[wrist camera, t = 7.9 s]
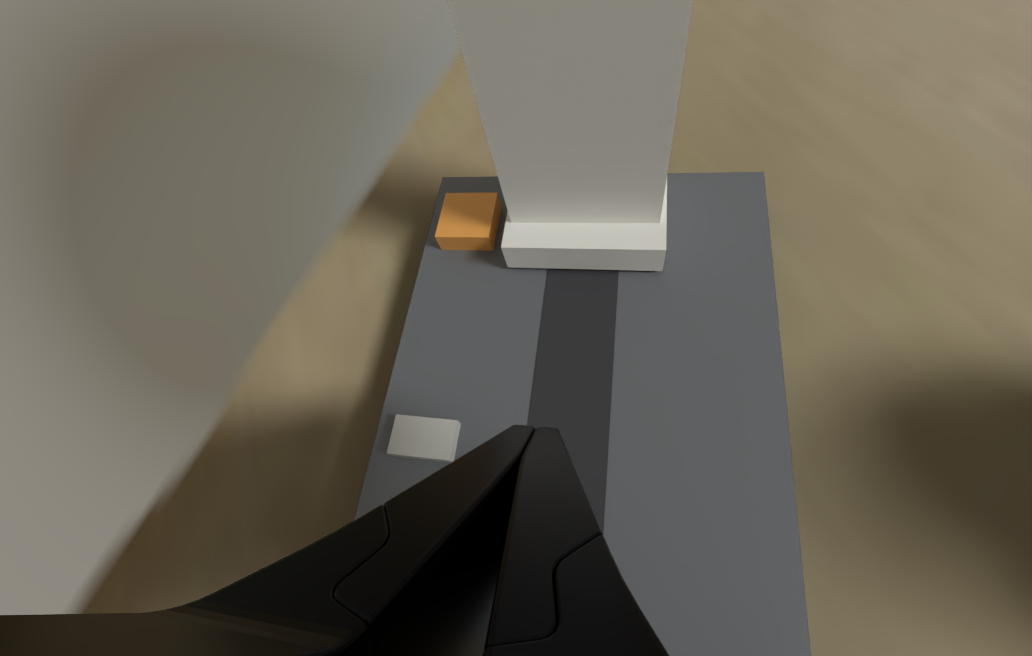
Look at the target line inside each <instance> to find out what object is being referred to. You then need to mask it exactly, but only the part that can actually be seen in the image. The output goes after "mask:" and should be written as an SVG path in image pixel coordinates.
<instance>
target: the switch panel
mask: <svg viewBox="0 0 1032 656" xmlns="http://www.w3.org/2000/svg"><path fill="white" fill-rule="evenodd" d="M507 211H508V210H507V207H506V203H505V200H504V196H503V193H502V189H501V186H500V183H499V179H498V177H445V178H442V182H441V186H440V190H439V194H438V197H437V201H436V205H435V209H434V213H433V217H432V221H431V224H430V228H429V232H428V236H427V240H426V244H425V248H424V251H423V255H422V259H421V263H420V267H419V271H418V275H417V278H416V282H415V286H414V290H413V294H412V298H411V302H410V305H409V309H408V313H407V317H406V321H405V325H404V329H403V332H402V336H401V340H400V344H399V348H398V352H397V356H396V359H395V363H394V367H393V371H392V375H391V379H390V383H389V386H388V390H387V394H386V398H385V402H384V406H383V410H382V413H381V417H380V421H379V425H378V429H377V433H376V437H375V440H374V444H373V448H372V452H371V456H370V460H369V464H368V467H367V471H366V475H365V479H364V483H363V487H362V491H361V494H360V498H359V502H358V506H357V510H356V514H355V518H354V520H356V519H358V518H359V517H361V516H363V515H365V514H366V513H368V512H370V511H371V510H373V509H375V508H376V507H378V506H380V505H383V506H384V503H385V502H386V501H388V500H390V499H391V498H393V497H395V496H396V495H398V494H400V493H401V492H403V491H405V490H406V489H408V488H410V487H411V486H413V485H415V484H416V483H418V482H420V481H421V480H423V479H425V478H426V477H428V476H430V475H431V474H433V473H435V472H436V471H438V470H439V469H441V468H443V467H444V466H446V465H448V464H449V463H451V462H453V461H454V460H456V459H458V458H459V457H461V456H463V455H464V454H466V453H468V452H469V451H471V450H473V449H474V448H476V447H478V446H479V445H481V444H483V443H484V442H486V441H488V440H489V439H491V438H493V437H494V436H496V435H497V434H499V433H501V432H502V431H504V430H506V429H507V428H509V427H511V426H513V425H516V424H517V425H527V426H533V427H535V429H536V428H537V427H548V428H557V429H558V430H559V431H560V434H561V436H562V438H563V441H564V443H565V445H566V448H567V450H568V453H569V455H570V457H571V460H572V462H573V464H574V467H575V469H576V472H577V474H578V476H579V479H580V481H581V483H582V486H583V488H584V491H585V493H586V495H587V498H588V500H589V502H590V505H591V507H592V509H593V512H594V514H595V517H596V519H597V521H598V524H599V526H600V528H601V531H602V533H603V537H604V538H605V540H606V542H607V544H608V547H609V549H610V552H611V554H612V556H613V558H614V560H615V562H616V564H617V566H618V569H619V571H620V573H621V575H622V577H623V579H624V581H625V583H626V584H627V586H628V588H629V590H630V591H631V593H632V595H633V596H634V598H635V600H636V602H637V603H638V605H639V607H640V609H641V610H642V612H643V613H644V615H645V617H646V618H647V620H648V622H649V623H650V625H651V626H652V628H653V630H654V631H655V633H656V634H657V636H658V638H659V639H660V641H661V643H662V644H663V646H664V647H665V649H666V651H667V652H668V654H669V655H670V656H811V651H810V641H809V631H808V620H807V610H806V600H805V589H804V579H803V569H802V558H801V548H800V538H799V528H798V517H797V507H796V497H795V486H794V476H793V466H792V455H791V445H790V435H789V425H788V414H787V404H786V394H785V383H784V373H783V363H782V352H781V342H780V332H779V322H778V311H777V301H776V291H775V280H774V270H773V260H772V249H771V239H770V229H769V219H768V208H767V198H766V188H765V177H764V172H733V173H675V174H667V234H666V255H665V260H664V266H663V271H636V270H594V269H553V268H512V267H507V264H506V261H505V258H504V255H503V252H502V249H501V244H502V239H503V233H504V228H505V222H506V217H507Z"/></svg>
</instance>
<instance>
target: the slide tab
mask: <svg viewBox="0 0 1032 656" xmlns="http://www.w3.org/2000/svg"><path fill="white" fill-rule="evenodd" d="M447 3H448V6H449V10H450V14H451V17H452V21H453V24H454V28H455V31H456V34H457V38H458V41H459V45H460V48H461V52H462V55H463V59H464V62H465V65H466V69H467V72H468V76H469V79H470V83H471V86H472V90H473V93H474V96H475V100H476V103H477V107H478V110H479V114H480V117H481V121H482V124H483V127H484V131H485V134H486V138H487V141H488V145H489V148H490V152H491V155H492V158H493V162H494V165H495V169H496V172H497V176H498V179H499V183H500V186H501V189H502V193H503V196H504V200H505V203H506V207H507V210H508V211H507V217H506V222H505V228H504V233H503V239H502V244H501V249H502V252H503V255H504V258H505V261H506V264H507V267H512V268H553V269H594V270H636V271H663V266H664V260H665V255H666V234H667V172H668V166H669V159H670V152H671V145H672V138H673V132H674V125H675V118H676V111H677V104H678V98H679V91H680V84H681V77H682V70H683V64H684V57H685V50H686V43H687V37H688V30H689V23H690V16H691V9H692V3H693V0H447Z"/></svg>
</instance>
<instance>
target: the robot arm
mask: <svg viewBox="0 0 1032 656" xmlns="http://www.w3.org/2000/svg"><path fill="white" fill-rule="evenodd" d="M0 656H670V655H669V654H668V652H667V651H666V649H665V647H664V646H663V644H662V643H661V641H660V639H659V638H658V636H657V634H656V633H655V631H654V630H653V628H652V626H651V625H650V623H649V622H648V620H647V618H646V617H645V615H644V613H643V612H642V610H641V609H640V607H639V605H638V603H637V602H636V600H635V598H634V596H633V595H632V593H631V591H630V590H629V588H628V586H627V584H626V583H625V581H624V579H623V577H622V575H621V573H620V571H619V569H618V566H617V564H616V562H615V560H614V558H613V556H612V554H611V552H610V549H609V547H608V544H607V542H606V540H605V538H604V537H603V533H602V531H601V528H600V526H599V524H598V521H597V519H596V517H595V514H594V512H593V509H592V507H591V505H590V502H589V500H588V498H587V495H586V493H585V491H584V488H583V486H582V483H581V481H580V479H579V476H578V474H577V472H576V469H575V467H574V464H573V462H572V460H571V457H570V455H569V453H568V450H567V448H566V445H565V443H564V441H563V438H562V436H561V434H560V431H559V430H558V429H557V428H548V427H537V428H536V429H535V427H533V426H527V425H517V424H516V425H513V426H511V427H509V428H507V429H506V430H504V431H502V432H501V433H499V434H497V435H496V436H494V437H493V438H491V439H489V440H488V441H486V442H484V443H483V444H481V445H479V446H478V447H476V448H474V449H473V450H471V451H469V452H468V453H466V454H464V455H463V456H461V457H459V458H458V459H456V460H454V461H453V462H451V463H449V464H448V465H446V466H444V467H443V468H441V469H439V470H438V471H436V472H435V473H433V474H431V475H430V476H428V477H426V478H425V479H423V480H421V481H420V482H418V483H416V484H415V485H413V486H411V487H410V488H408V489H406V490H405V491H403V492H401V493H400V494H398V495H396V496H395V497H393V498H391V499H390V500H388V501H386V502H385V503H384V506H383V505H380V506H378V507H376V508H375V509H373V510H371V511H370V512H368V513H366V514H365V515H363V516H361V517H359V518H358V519H356V520H354V521H353V522H351V523H349V524H347V525H346V526H344V527H342V528H340V529H339V530H337V531H335V532H333V533H331V534H329V535H327V536H326V537H324V538H322V539H320V540H318V541H316V542H314V543H312V544H310V545H308V546H306V547H305V548H303V549H301V550H299V551H297V552H295V553H293V554H291V555H289V556H287V557H285V558H283V559H281V560H279V561H277V562H275V563H273V564H271V565H269V566H267V567H265V568H263V569H261V570H259V571H257V572H255V573H253V574H251V575H249V576H247V577H245V578H243V579H241V580H239V581H237V582H235V583H233V584H231V585H229V586H227V587H225V588H223V589H221V590H219V591H217V592H215V593H212V594H210V595H208V596H206V597H204V598H202V599H199V600H196V601H194V602H191V603H188V604H185V605H182V606H178V607H174V608H170V609H166V610H161V611H154V612H148V613H114V614H56V615H0Z"/></svg>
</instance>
